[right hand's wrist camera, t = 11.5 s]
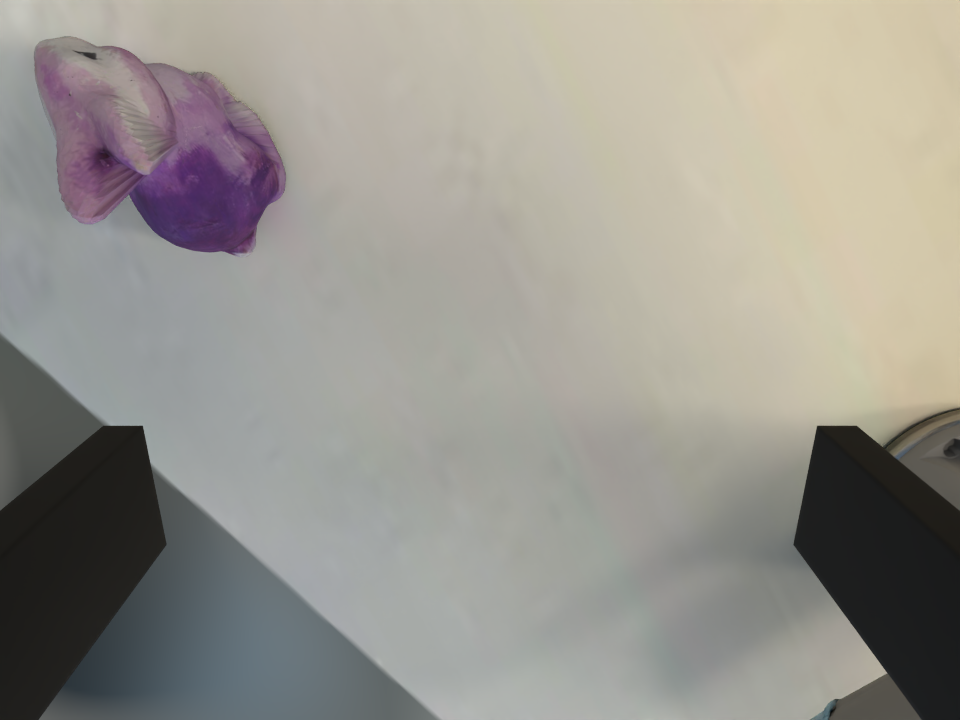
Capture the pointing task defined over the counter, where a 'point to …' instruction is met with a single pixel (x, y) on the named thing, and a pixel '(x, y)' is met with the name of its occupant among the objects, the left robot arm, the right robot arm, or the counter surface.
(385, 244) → the counter surface
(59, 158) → the figurine
